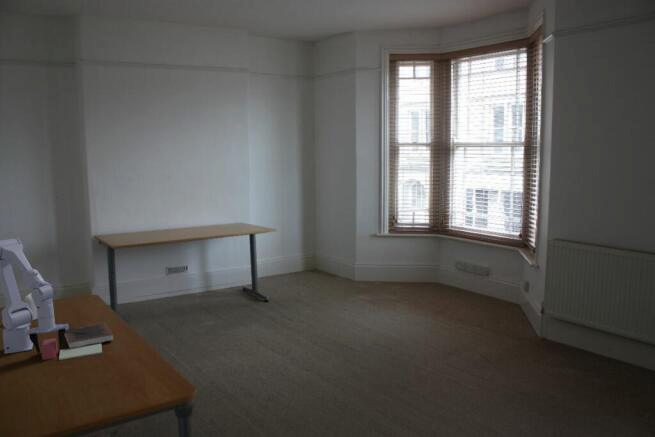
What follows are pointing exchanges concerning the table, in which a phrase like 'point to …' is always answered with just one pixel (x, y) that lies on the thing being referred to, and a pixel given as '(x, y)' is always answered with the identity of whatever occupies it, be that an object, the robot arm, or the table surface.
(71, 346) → the picture frame
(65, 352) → the sage mat
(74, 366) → the table surface
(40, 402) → the table surface
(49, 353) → the card box
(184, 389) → the table surface
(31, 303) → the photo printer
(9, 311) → the robot arm
